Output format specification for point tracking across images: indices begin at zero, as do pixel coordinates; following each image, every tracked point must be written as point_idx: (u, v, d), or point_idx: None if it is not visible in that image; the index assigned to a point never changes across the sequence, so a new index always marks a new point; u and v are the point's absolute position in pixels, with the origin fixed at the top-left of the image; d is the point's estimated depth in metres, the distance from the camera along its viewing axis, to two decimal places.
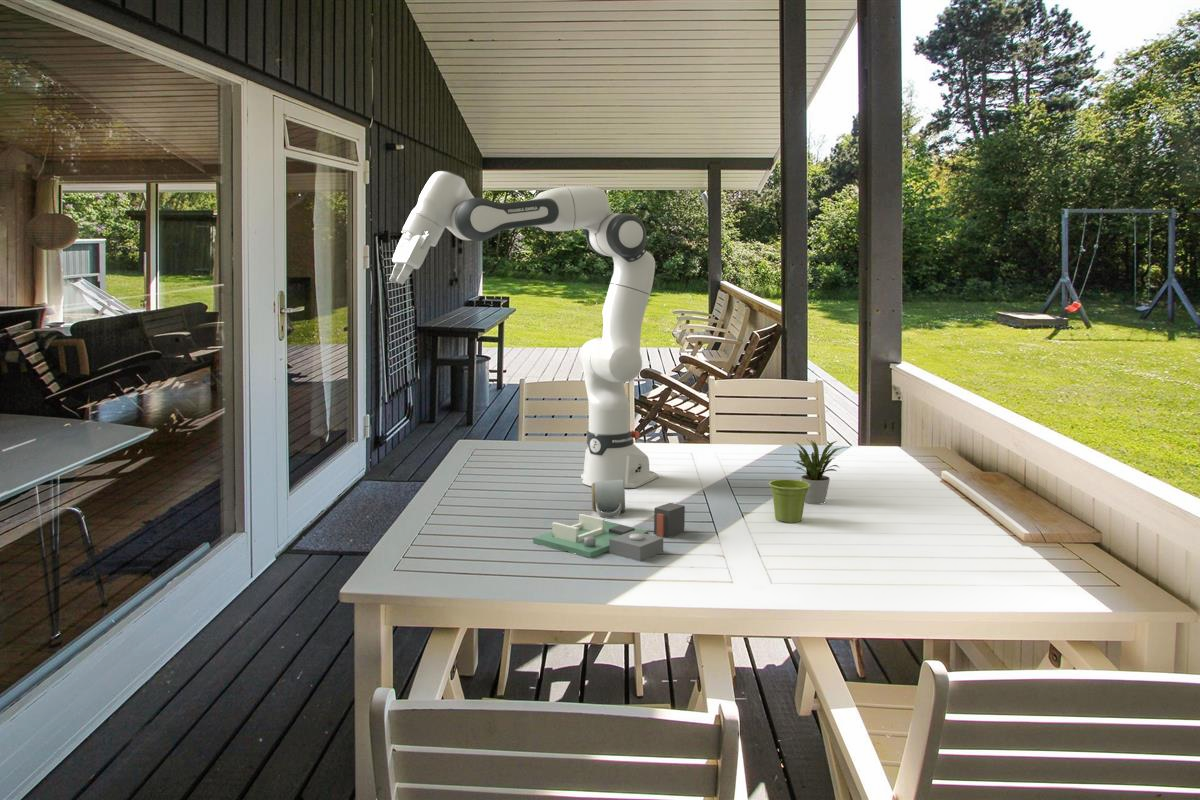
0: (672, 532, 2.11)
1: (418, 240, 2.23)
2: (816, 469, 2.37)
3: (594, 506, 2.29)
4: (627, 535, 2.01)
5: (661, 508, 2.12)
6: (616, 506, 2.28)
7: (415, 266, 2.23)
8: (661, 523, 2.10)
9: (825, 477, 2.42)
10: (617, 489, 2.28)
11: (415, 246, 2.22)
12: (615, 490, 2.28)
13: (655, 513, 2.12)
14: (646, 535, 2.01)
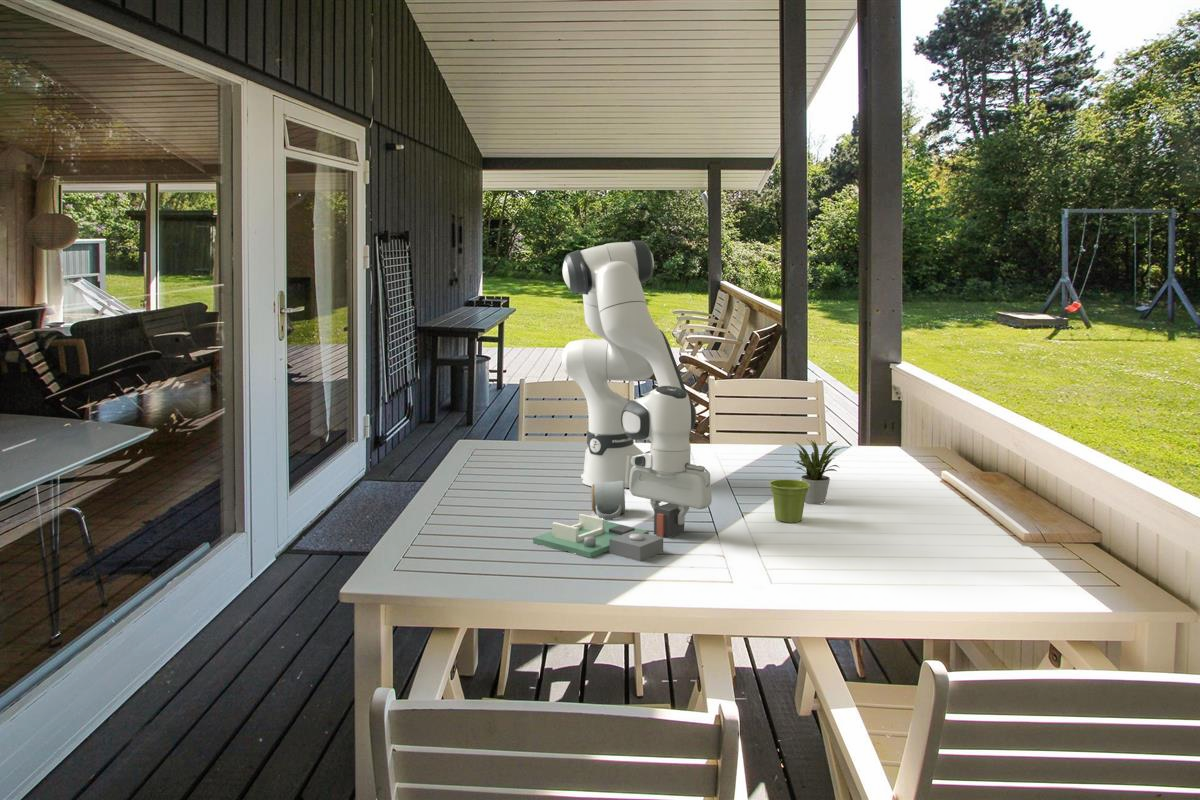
0: (672, 532, 2.11)
1: (702, 482, 2.05)
2: (816, 469, 2.37)
3: (594, 507, 2.28)
4: (627, 535, 2.01)
5: (661, 508, 2.12)
6: (616, 507, 2.27)
7: (707, 506, 2.07)
8: (661, 523, 2.10)
9: (825, 477, 2.42)
10: (617, 490, 2.27)
11: (703, 490, 2.05)
12: (615, 491, 2.27)
13: (655, 513, 2.12)
14: (646, 535, 2.01)
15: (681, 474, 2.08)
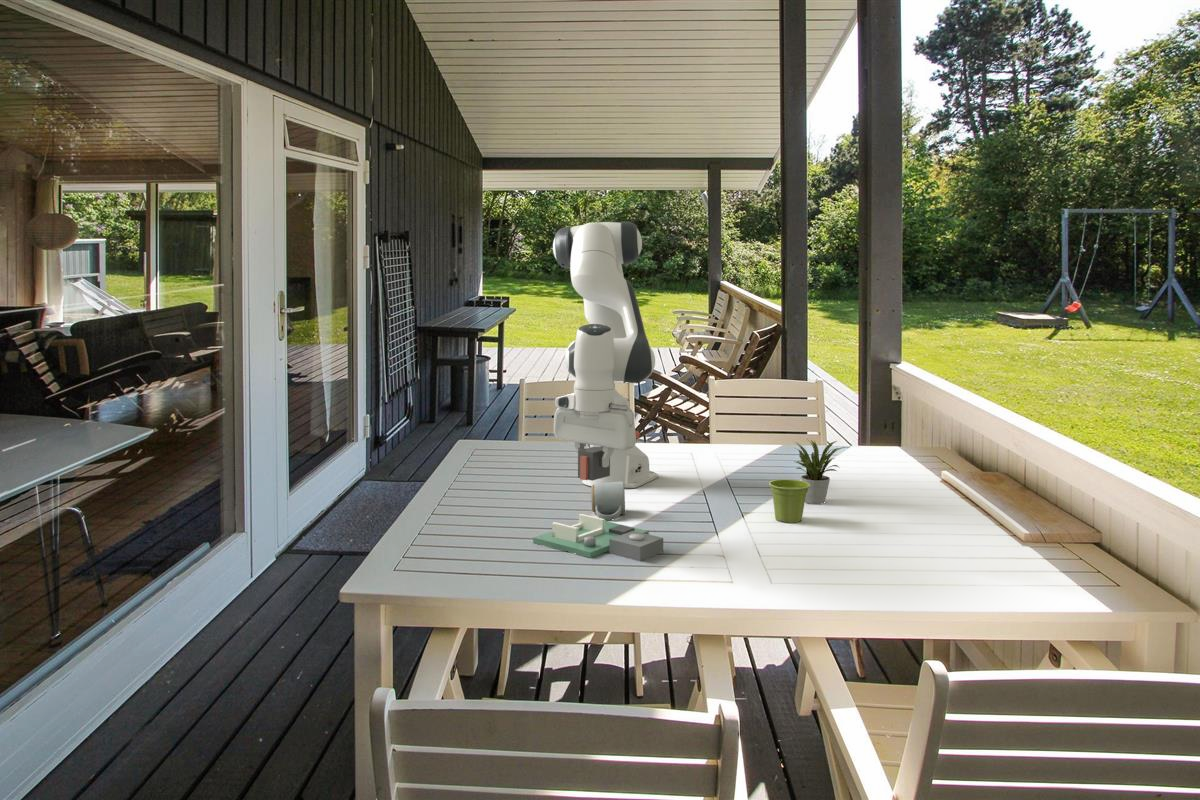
0: (596, 475, 2.04)
1: (625, 421, 1.98)
2: (816, 469, 2.37)
3: (594, 508, 2.27)
4: (627, 535, 2.01)
5: (585, 450, 2.04)
6: (616, 508, 2.26)
7: (631, 447, 2.00)
8: (584, 465, 2.03)
9: (825, 477, 2.42)
10: (617, 491, 2.26)
11: (626, 429, 1.98)
12: (615, 492, 2.26)
13: (579, 456, 2.05)
14: (646, 535, 2.01)
15: (604, 414, 2.01)
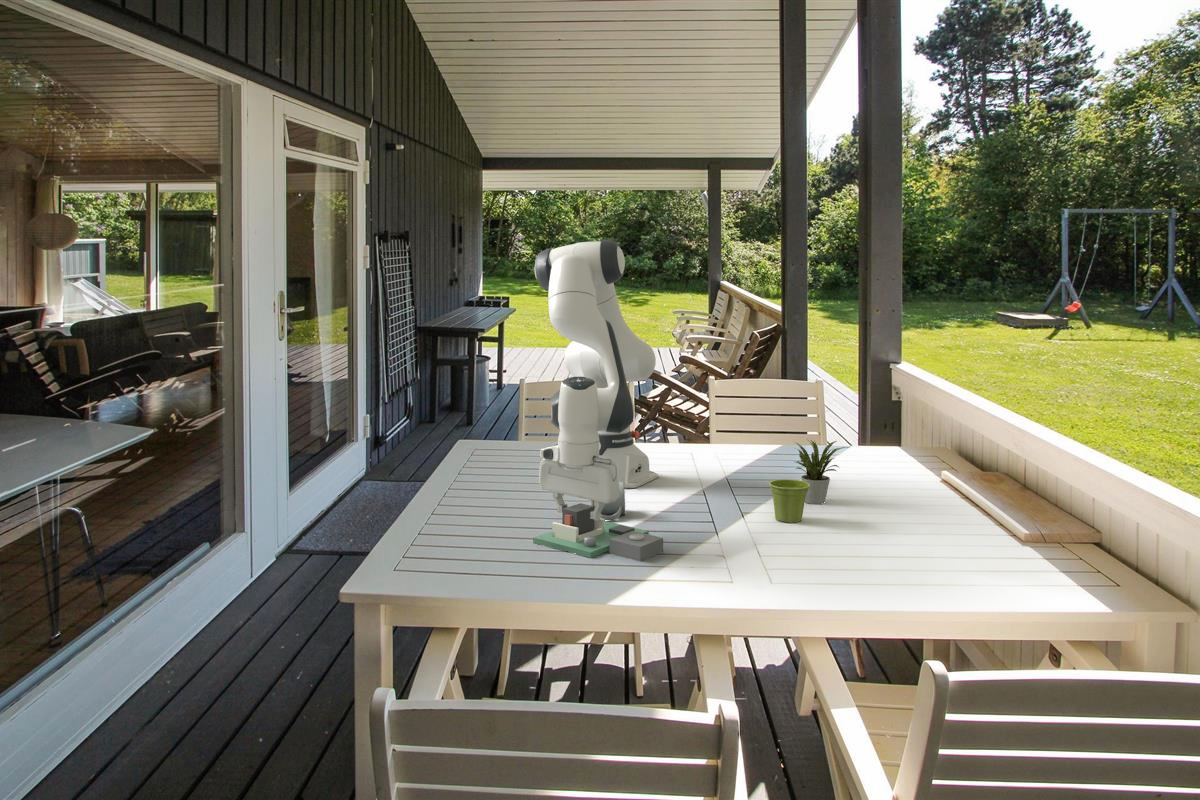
0: (580, 533, 2.06)
1: (608, 475, 1.99)
2: (816, 469, 2.37)
3: None
4: (627, 535, 2.01)
5: (569, 509, 2.06)
6: (616, 509, 2.26)
7: (615, 500, 2.01)
8: (568, 524, 2.05)
9: (825, 477, 2.42)
10: None
11: (609, 483, 1.99)
12: None
13: (563, 514, 2.06)
14: (646, 535, 2.01)
15: (588, 467, 2.02)
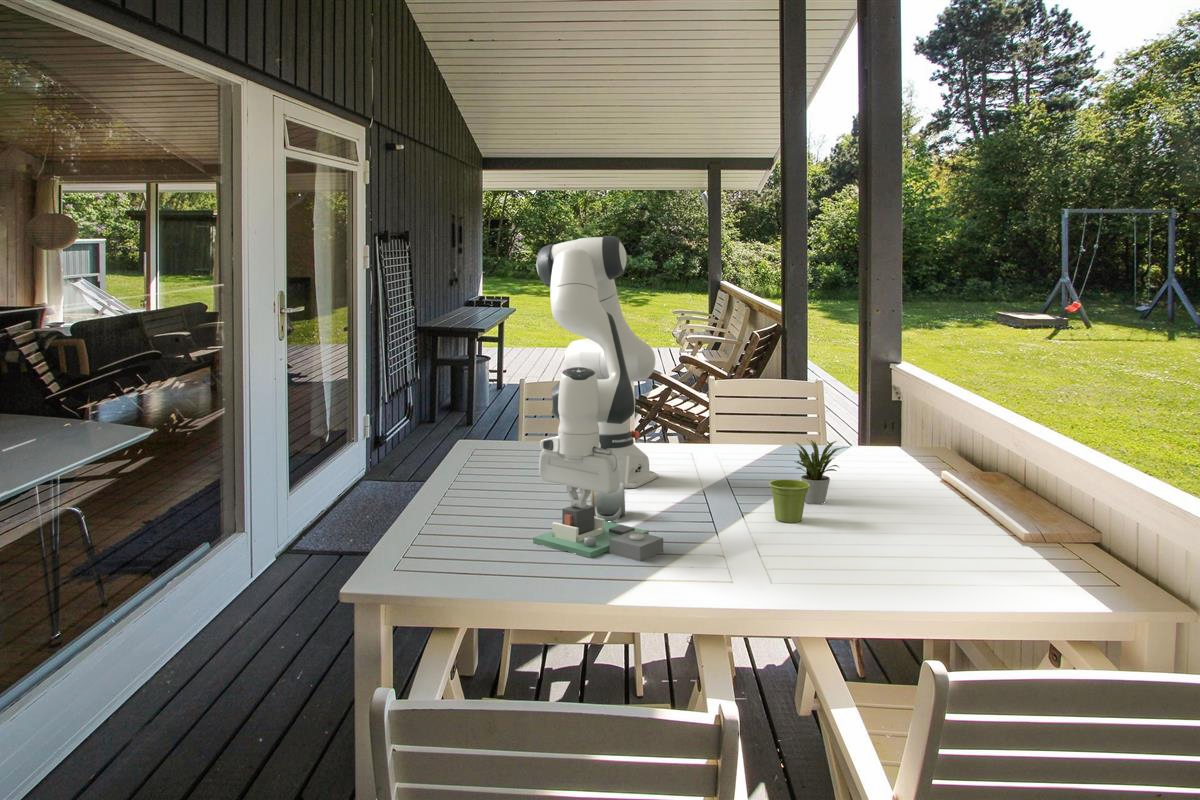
0: (580, 533, 2.06)
1: (608, 466, 1.99)
2: (816, 469, 2.37)
3: None
4: (627, 535, 2.01)
5: (569, 509, 2.06)
6: (616, 510, 2.25)
7: (615, 491, 2.01)
8: (568, 524, 2.05)
9: (825, 477, 2.42)
10: (617, 492, 2.25)
11: (609, 474, 1.99)
12: (615, 493, 2.25)
13: (563, 514, 2.06)
14: (646, 535, 2.01)
15: (588, 458, 2.02)
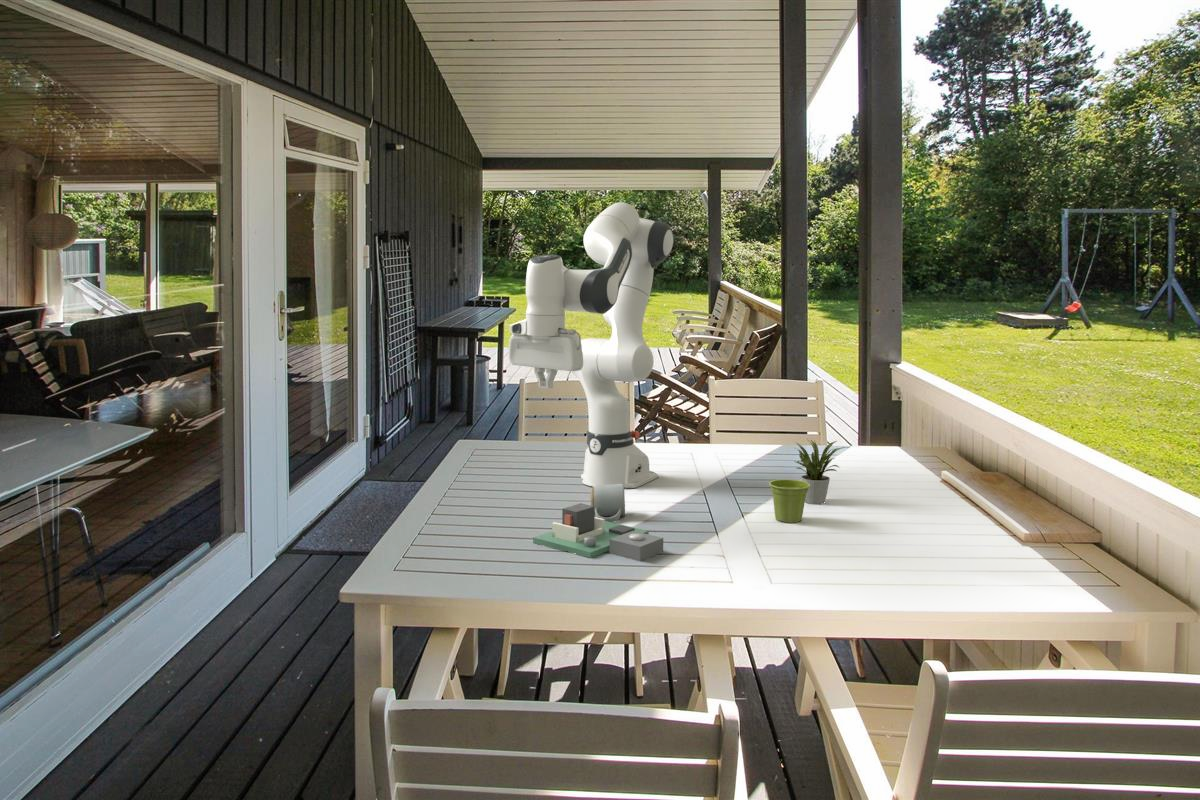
0: (580, 533, 2.06)
1: (572, 344, 2.10)
2: (816, 469, 2.37)
3: None
4: (627, 535, 2.01)
5: (569, 509, 2.06)
6: (615, 511, 2.24)
7: (579, 369, 2.13)
8: (568, 524, 2.05)
9: (825, 477, 2.42)
10: (617, 493, 2.24)
11: (573, 351, 2.10)
12: (615, 494, 2.24)
13: (563, 514, 2.06)
14: (646, 535, 2.01)
15: (554, 338, 2.13)
